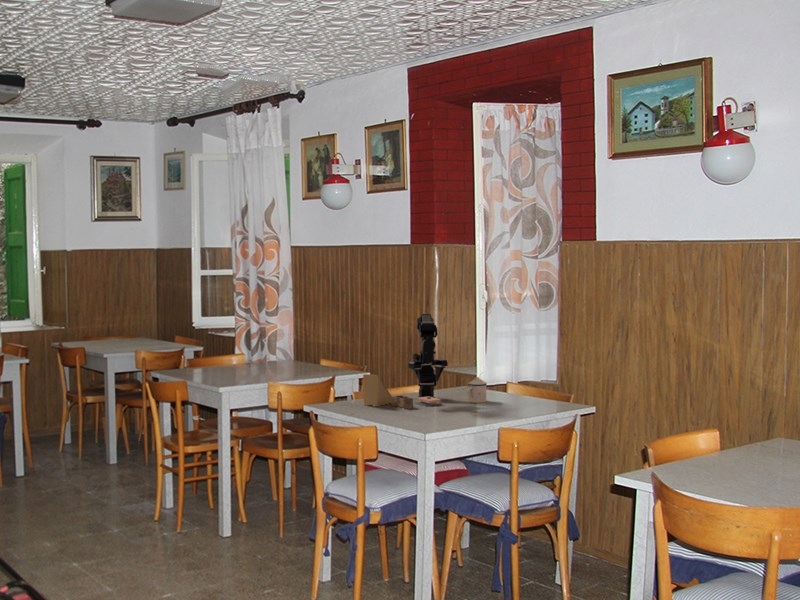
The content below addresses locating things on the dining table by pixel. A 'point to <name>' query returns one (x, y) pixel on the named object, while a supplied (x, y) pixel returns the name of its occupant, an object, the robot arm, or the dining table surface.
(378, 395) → the sandwich container
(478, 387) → the white printed mug
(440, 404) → the coaster
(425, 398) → the lid
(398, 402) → the tea box
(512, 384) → the dining table surface
